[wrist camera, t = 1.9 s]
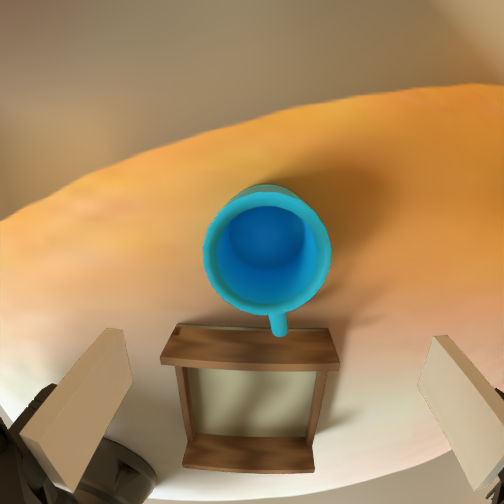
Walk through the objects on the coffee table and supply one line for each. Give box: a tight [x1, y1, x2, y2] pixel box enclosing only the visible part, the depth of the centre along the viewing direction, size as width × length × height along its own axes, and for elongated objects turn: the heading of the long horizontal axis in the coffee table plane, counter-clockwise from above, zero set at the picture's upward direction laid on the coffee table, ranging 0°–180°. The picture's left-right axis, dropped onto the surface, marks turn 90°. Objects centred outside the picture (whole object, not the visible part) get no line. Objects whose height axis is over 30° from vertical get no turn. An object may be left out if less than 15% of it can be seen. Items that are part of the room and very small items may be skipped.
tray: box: [160, 324, 340, 474], centre depth 29 cm, size 15×17×6 cm
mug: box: [203, 184, 331, 337], centre depth 24 cm, size 12×8×8 cm
